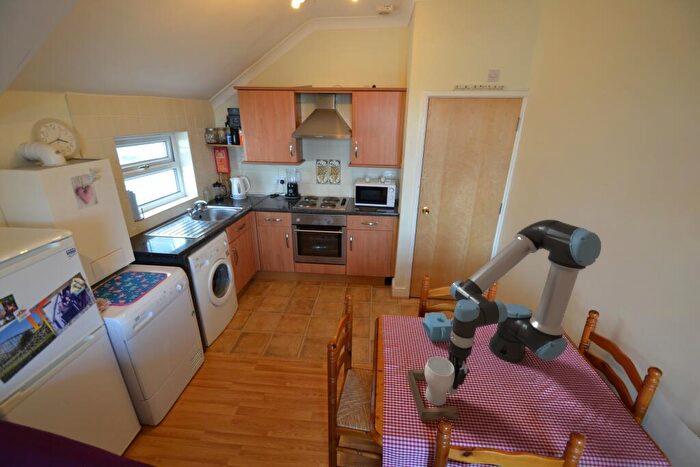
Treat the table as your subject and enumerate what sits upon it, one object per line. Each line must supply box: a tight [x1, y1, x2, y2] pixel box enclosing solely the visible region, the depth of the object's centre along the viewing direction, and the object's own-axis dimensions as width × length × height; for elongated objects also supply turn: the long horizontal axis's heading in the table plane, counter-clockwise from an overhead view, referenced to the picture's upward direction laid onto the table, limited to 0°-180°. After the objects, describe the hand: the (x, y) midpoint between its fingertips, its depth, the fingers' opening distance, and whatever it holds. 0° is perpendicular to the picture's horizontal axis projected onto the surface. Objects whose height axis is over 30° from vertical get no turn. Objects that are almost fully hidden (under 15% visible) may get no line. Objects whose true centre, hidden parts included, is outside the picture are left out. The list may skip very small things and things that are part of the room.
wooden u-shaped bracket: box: [406, 368, 461, 422], centre depth 113 cm, size 14×19×4 cm
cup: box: [424, 356, 455, 406], centre depth 111 cm, size 11×11×15 cm
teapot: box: [420, 312, 454, 343], centre depth 145 cm, size 16×18×11 cm
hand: (452, 392), depth 114 cm, fingers closed
